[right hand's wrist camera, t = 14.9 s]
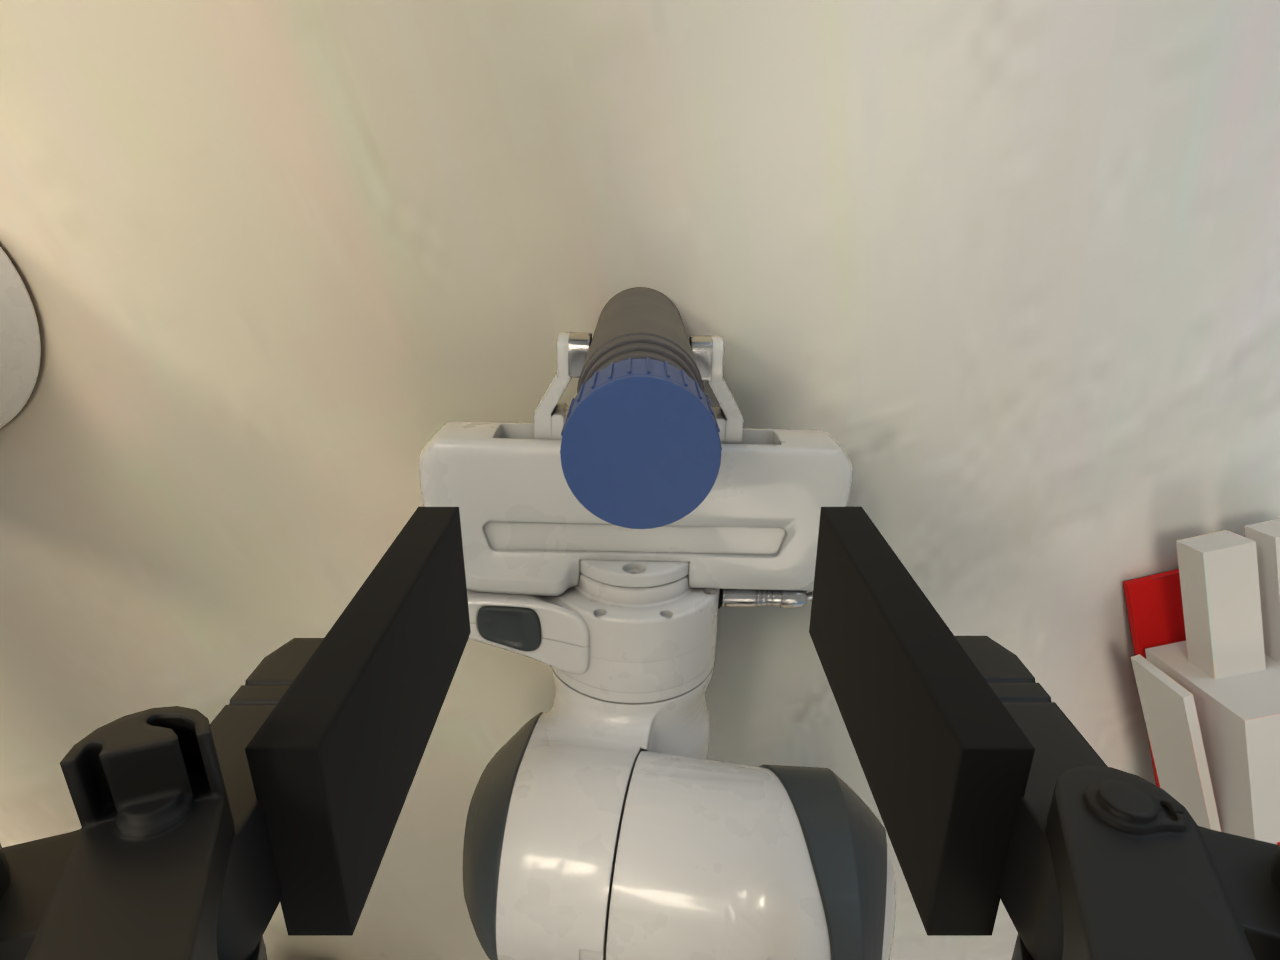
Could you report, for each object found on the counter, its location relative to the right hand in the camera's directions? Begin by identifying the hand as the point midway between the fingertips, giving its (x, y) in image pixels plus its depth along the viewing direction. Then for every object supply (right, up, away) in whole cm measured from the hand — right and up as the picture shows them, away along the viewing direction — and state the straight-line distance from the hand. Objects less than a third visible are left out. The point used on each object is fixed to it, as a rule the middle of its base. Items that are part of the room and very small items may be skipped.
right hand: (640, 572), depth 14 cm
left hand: (0, +8, +19) cm, 21 cm away
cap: (0, +3, +7) cm, 7 cm away
